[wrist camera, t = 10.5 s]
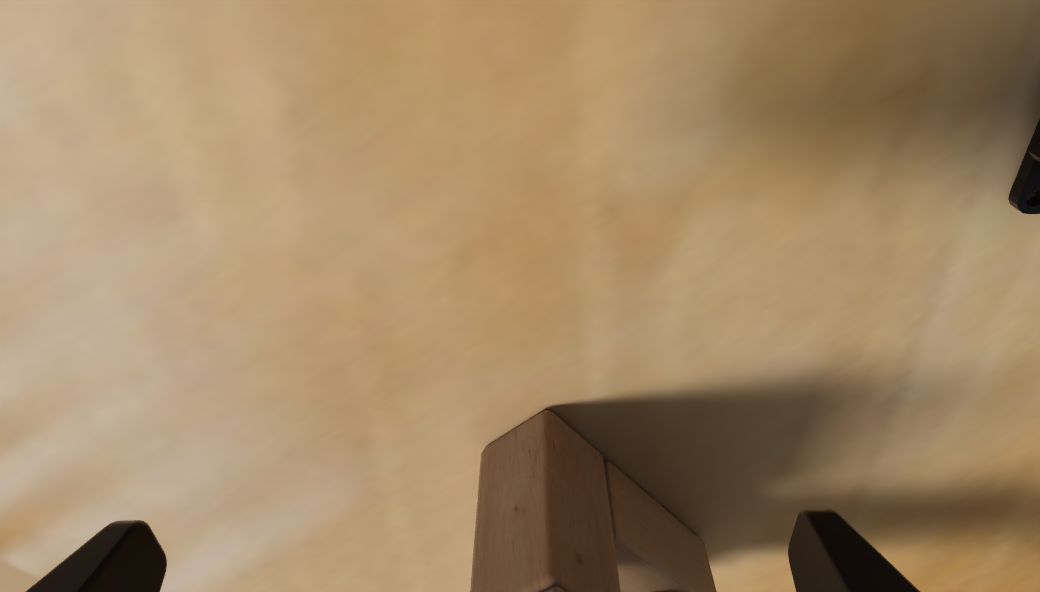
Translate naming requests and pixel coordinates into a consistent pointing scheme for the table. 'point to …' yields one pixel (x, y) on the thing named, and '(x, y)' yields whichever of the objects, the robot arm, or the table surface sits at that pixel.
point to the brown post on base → (574, 521)
